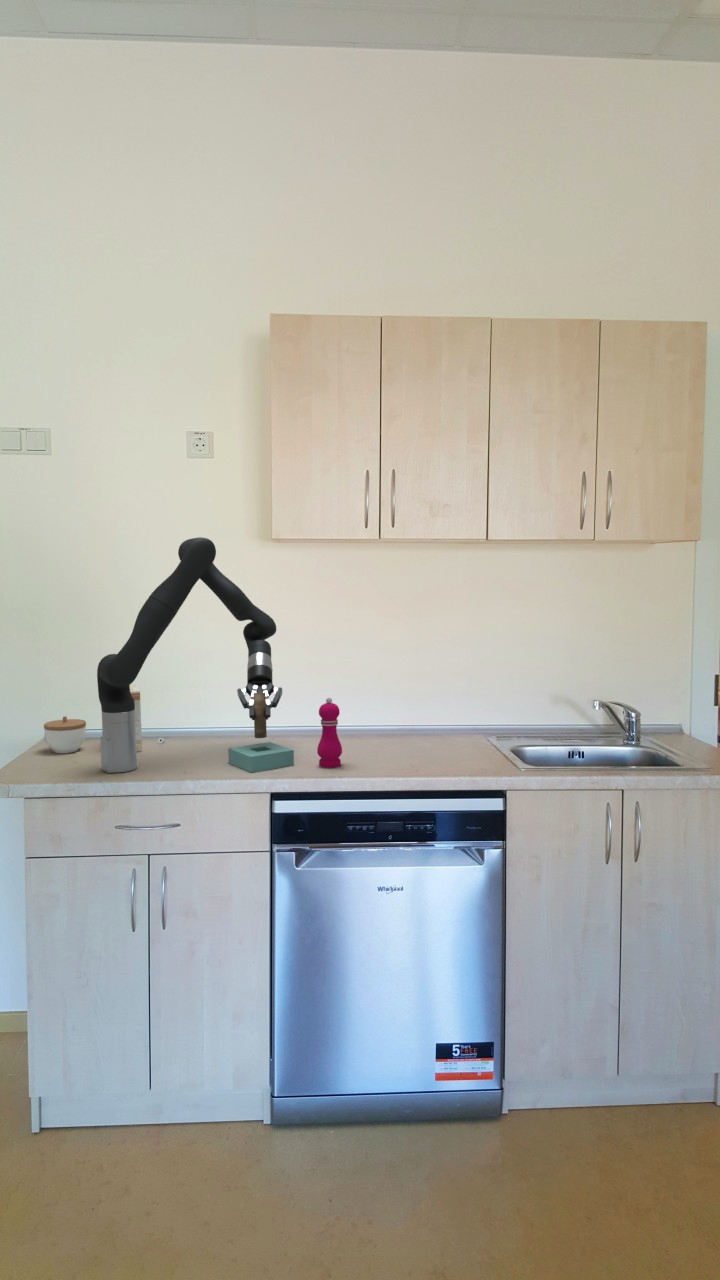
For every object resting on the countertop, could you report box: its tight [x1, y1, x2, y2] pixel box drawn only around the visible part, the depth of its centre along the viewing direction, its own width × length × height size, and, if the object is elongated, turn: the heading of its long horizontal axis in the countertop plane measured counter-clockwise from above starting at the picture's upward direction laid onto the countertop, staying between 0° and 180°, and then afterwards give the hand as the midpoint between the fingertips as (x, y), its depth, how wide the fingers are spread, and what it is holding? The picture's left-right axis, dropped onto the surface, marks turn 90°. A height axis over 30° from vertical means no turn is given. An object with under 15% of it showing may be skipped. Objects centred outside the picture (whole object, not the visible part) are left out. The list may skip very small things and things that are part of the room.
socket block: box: [228, 741, 295, 773], centre depth 238 cm, size 14×14×4 cm
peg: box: [253, 692, 267, 739], centre depth 237 cm, size 4×4×13 cm
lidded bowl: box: [43, 716, 87, 754], centre depth 258 cm, size 13×13×11 cm
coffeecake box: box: [130, 684, 143, 753], centre depth 261 cm, size 15×7×20 cm, turn 21°
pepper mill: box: [316, 697, 343, 769], centre depth 235 cm, size 7×7×20 cm
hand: (260, 718), depth 235 cm, fingers closed on peg, 3 cm apart
